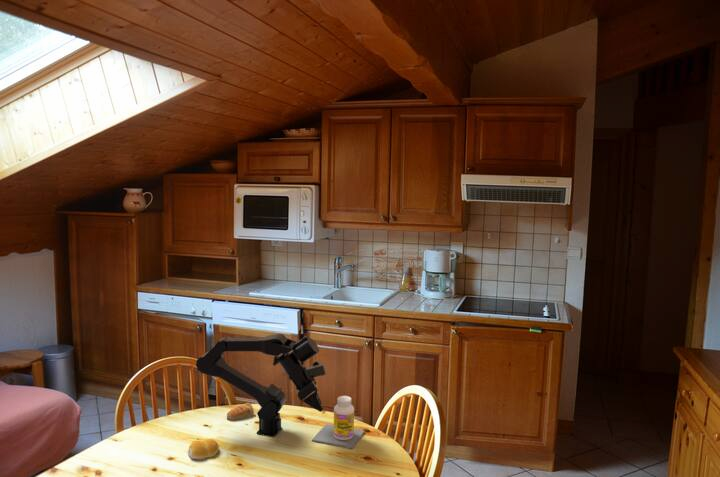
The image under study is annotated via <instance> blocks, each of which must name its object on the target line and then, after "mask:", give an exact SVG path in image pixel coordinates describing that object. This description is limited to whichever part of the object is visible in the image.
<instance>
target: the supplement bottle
mask: <svg viewBox="0 0 720 477" xmlns="http://www.w3.org/2000/svg"><path fill="white" fill-rule="evenodd" d="M336 403H337V404H336V405H335V406H334V408H333V425H334V437H335V438H336V439H338V440H349V439H351V438H352V437H353V435H354V429H355V428H354V427H355V407H354V405H353V404H352V397H350V396H348V395H340V396H338V397H337V400H336Z"/></svg>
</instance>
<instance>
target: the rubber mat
mask: <svg viewBox="0 0 720 477" xmlns="http://www.w3.org/2000/svg"><path fill="white" fill-rule="evenodd" d="M365 431H366V430H365V429H357V428H354V435H353V437H352V438H351V439H349V440H338V439H336V438H335V437H334V424H329V423H326V424H325V425H324V426H323V427H322V428H321V429H320V430H319V431H318V432H317V433H316V434H315V436H313V437H312V438H311V442H313V443H319V444H324V445H330V446H335V447H340V448H345V449H350V450H353V449H354V448H355V447H356V445H357V443H359V440H360V439H361V438H362V437H363V435H364V434H365Z"/></svg>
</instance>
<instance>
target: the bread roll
mask: <svg viewBox="0 0 720 477" xmlns="http://www.w3.org/2000/svg"><path fill="white" fill-rule="evenodd" d="M219 447H220V446H219V444H218V442H217V441H216V440H214V439H212V438H207V439H202V440H201V441H193V442H191V443H190V445H189V446H188V449H187V454H188V457H189V458H190V459H192V460H204V459H207V458H212V457H214V456H216V455H217V453H218V452H219Z"/></svg>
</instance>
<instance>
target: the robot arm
mask: <svg viewBox="0 0 720 477" xmlns="http://www.w3.org/2000/svg"><path fill="white" fill-rule="evenodd" d="M226 352H259V353H261V354H264V355H268V356H272V357H273V356H274V357H273V362H272V363H273V364H272V366H276V365H278V364H280V366H281V367H282V369H283V370H284V372H285V373H286V374H287V376H288V379H289V380H290V381H291V382H292V383H293V384H294V386H295V389H296V391H297V398H298V399H299V400H300V402H301V401H302V402H303V403H305V404H306V405H308V406H310V407H311V408H313V409H315V410H316V411H318V412H320V413H321V412H323V411H324V409H323V406H322V405H323V404H322V401H321V399H320V396H319V394H318V391H319V389H318V387H317V380H316V378H317V377H319V376H325V375H326V374H327V373H326V369H325V365H324V363H322V362H321V363H319V362H318V361H317V360H316V361H313V362H312V365H311V366H309V367H306V366H305V364H304V365H303V364H302V362H306V361H308V360H310V359H311V358H313V357H314V356H315V355H317V354H319V353H320V348H319V346H318V343H317V342H316V341H315V340H313V339H312V338H310V337H309V336H308V335H307V334H305V336H304V337H302V338H301V339H300V340H298V341H296V340H294V339H290V338H288V337H286V336H285V334H282V333H276V334H270V335H267V336H264V337H226V336H225V337H222V338H221V339H219V340H218V341H217V342H216V344H215V345H214V346H213V347H212V348H211V349H210V350H209V351H207V352H205V353H204V354H202V355H201V356H200V357H198V359H196V363H195V367H196V370H197V372H199V373H200V374H202V375H206V376H208V377H213V378H214V377H215V378H220V379H221V380H222V381H224V382H226V383H228V384H230V385H231V386H234V388H236V389H238V390H240V391H241V392H243V393H245V394H247V395H249V396H250V397H252V398H253V399H254V400H255V401H256V402H257V404H258V405H259V406H260V408H259V409H258V411H257V412H256V414H257V417H258V430H257V431H256V434H257V435H261V436H267V437H272V438H273V437H274V438H275V436H277V435H278V433H280V432H281V431H282V430H283V427H282V418H281V413H280V410H282V408H283V407H284V405H285V404H286V401H287V397H286V393H285V392H284V391H283V390H282V389H283V388H279V387H278V386H276V385H275V384H273V383H271V384H269V386H266V385H265V386H264V385H263V384H261V383H259V382H257V381H255V380H254V379H252V378H250V377H249V376H248V375H246V374H243V373H242V372H240V371H239V370H237V369H235V368H233V367H231V366H230V365H228V364H227V362H226V360H225V359H224V358H223V355H224V354H225V353H226Z"/></svg>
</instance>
